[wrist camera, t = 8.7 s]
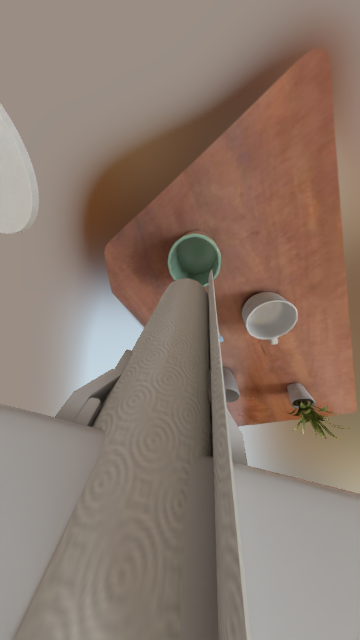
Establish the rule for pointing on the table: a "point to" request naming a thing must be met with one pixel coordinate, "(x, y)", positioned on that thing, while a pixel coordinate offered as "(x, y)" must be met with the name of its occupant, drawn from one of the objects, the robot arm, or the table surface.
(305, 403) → the house plant
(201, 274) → the sage green pencil cup
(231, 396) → the mug
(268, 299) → the teacup
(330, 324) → the table surface
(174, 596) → the paper towel roll
